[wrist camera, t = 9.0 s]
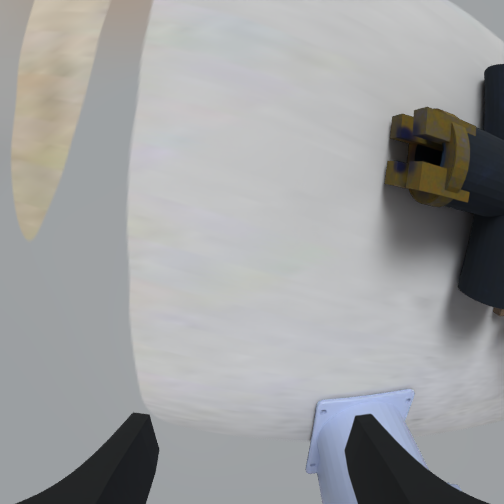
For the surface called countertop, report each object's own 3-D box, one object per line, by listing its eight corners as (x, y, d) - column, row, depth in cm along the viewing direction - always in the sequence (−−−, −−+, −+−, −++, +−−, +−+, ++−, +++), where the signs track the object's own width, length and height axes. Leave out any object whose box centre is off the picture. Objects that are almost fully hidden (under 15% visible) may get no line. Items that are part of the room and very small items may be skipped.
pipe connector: (399, 307, 14) (432, 8, 10) (363, 271, 19) (391, 39, 15) (531, 311, 14) (560, 91, 10) (488, 284, 19) (513, 97, 15)
